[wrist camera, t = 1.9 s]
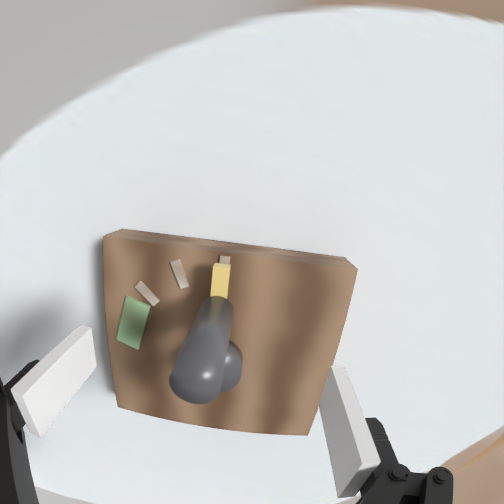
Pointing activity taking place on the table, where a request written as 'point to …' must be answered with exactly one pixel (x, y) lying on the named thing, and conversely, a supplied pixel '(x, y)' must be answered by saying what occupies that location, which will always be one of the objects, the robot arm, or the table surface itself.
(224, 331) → the dark grey lever
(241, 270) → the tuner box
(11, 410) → the robot arm
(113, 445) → the table surface
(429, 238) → the table surface
